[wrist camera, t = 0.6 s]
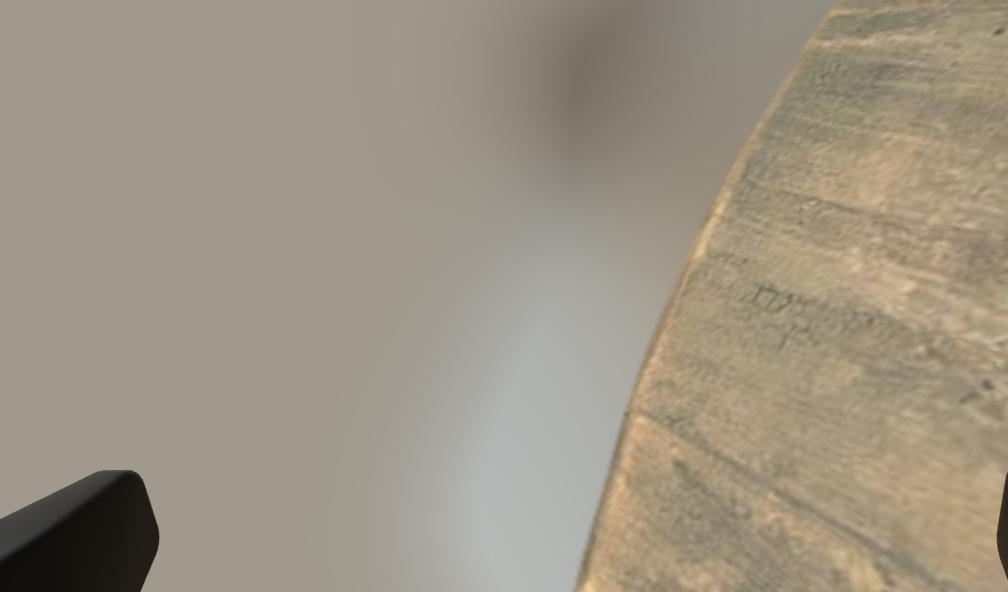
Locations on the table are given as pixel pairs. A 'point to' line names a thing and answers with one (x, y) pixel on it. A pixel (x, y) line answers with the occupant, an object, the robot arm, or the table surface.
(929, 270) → the table surface
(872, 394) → the table surface
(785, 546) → the table surface
